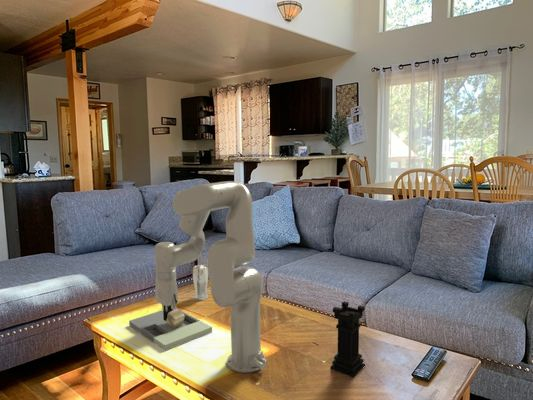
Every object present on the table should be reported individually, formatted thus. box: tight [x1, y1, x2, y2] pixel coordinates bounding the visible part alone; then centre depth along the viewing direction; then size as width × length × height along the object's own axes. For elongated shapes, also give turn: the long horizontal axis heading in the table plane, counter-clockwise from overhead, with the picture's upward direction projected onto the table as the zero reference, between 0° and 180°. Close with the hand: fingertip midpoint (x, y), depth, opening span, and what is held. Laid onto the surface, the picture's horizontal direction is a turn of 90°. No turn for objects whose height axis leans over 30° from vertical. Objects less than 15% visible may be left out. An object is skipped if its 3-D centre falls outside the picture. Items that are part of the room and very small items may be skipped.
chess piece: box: [330, 301, 366, 378], centre depth 128 cm, size 8×8×20 cm
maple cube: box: [166, 308, 185, 329], centre depth 156 cm, size 4×4×4 cm
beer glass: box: [192, 264, 209, 301], centre depth 189 cm, size 7×7×15 cm
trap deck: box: [128, 307, 213, 351], centre depth 158 cm, size 28×20×2 cm
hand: (168, 319), depth 159 cm, fingers closed
